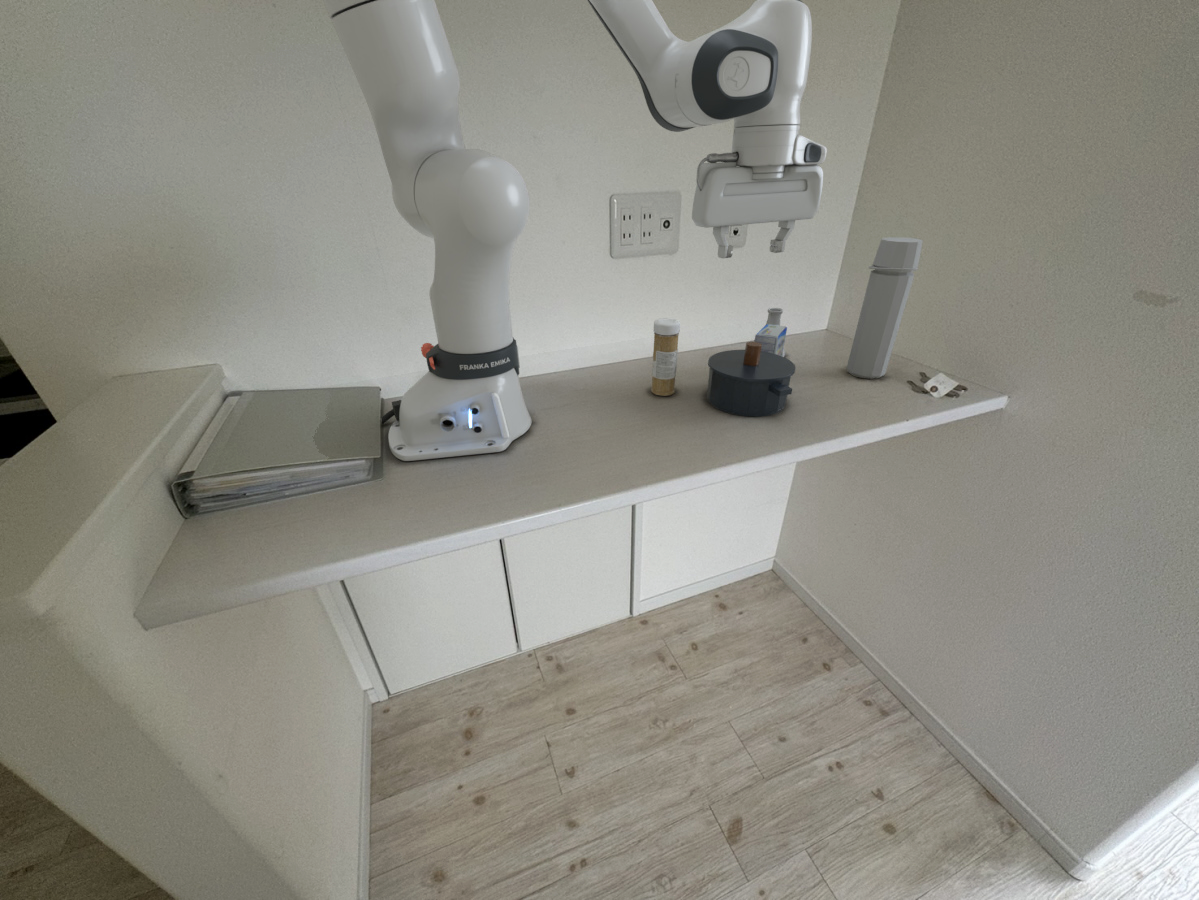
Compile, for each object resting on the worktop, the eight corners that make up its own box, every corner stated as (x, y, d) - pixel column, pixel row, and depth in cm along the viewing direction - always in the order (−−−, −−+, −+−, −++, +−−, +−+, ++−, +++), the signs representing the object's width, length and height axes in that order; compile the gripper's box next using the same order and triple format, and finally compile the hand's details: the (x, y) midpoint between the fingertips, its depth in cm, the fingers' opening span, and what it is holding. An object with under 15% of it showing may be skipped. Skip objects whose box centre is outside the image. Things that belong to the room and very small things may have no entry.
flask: (781, 349, 113) (789, 305, 107) (788, 360, 106) (797, 314, 101) (748, 349, 113) (755, 304, 108) (754, 360, 107) (761, 313, 102)
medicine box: (771, 380, 97) (779, 336, 93) (748, 376, 99) (755, 333, 95) (780, 367, 103) (788, 326, 99) (759, 363, 105) (765, 323, 101)
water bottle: (892, 381, 96) (934, 242, 83) (849, 379, 97) (884, 242, 84) (876, 364, 104) (913, 235, 91) (837, 363, 105) (867, 235, 92)
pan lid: (739, 391, 78) (743, 363, 76) (692, 361, 90) (694, 337, 88) (813, 377, 83) (819, 351, 80) (758, 351, 95) (762, 327, 92)
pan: (745, 429, 80) (751, 392, 76) (685, 386, 95) (688, 354, 92) (813, 414, 84) (821, 379, 81) (745, 376, 99) (749, 344, 96)
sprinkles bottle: (654, 385, 95) (658, 316, 89) (678, 389, 94) (683, 318, 87) (647, 394, 92) (650, 322, 85) (671, 398, 90) (676, 325, 83)
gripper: (710, 153, 65) (702, 264, 72) (837, 148, 70) (817, 252, 77) (687, 153, 70) (681, 257, 77) (806, 149, 75) (791, 246, 83)
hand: (750, 254), depth 77 cm, fingers open, 8 cm apart
